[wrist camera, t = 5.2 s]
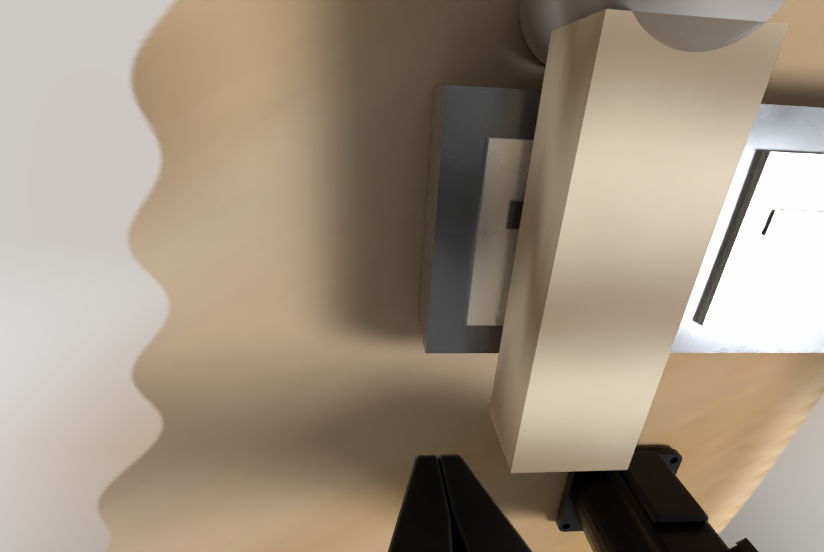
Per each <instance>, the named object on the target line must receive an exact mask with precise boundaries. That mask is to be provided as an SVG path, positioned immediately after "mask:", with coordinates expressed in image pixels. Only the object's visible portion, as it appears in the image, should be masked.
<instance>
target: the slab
mask: <svg viewBox="0 0 824 552" xmlns="http://www.w3.org/2000/svg"><path fill="white" fill-rule="evenodd" d="M541 93H542V90H527V89H511V88H495V87H478V86H462V85H443V86H439V87H435V88H434V94H433V109H432V124H431V140H430V155H429V170H428V185H427V200H426V215H425V230H424V245H423V260H422V275H421V290H420V306H419V321H420V327H421V332H422V337H423V343H424V348H425V353H499V350H500V344H501V338H502V332H503V325H504V319H505V313H506V307H507V301H508V295H509V289H510V283H511V276H512V270H513V264H514V258H515V252H516V246H517V240H518V234H519V227H520V221H521V215H522V209H523V203H524V197H525V191H526V184H527V178H528V172H529V166H530V160H531V154H532V148H533V142H534V135H535V129H536V123H537V117H538V111H539V105H540V99H541ZM670 353H824V108H821V107H805V106H788V105H772V104H760V107H759V109H758V112H757V115H756V118H755V121H754V123H753V126H752V129H751V132H750V134H749V137H748V140H747V143H746V145H745V148H744V151H743V154H742V156H741V159H740V162H739V165H738V167H737V170H736V173H735V176H734V178H733V181H732V184H731V187H730V189H729V192H728V195H727V198H726V200H725V203H724V206H723V209H722V211H721V214H720V217H719V220H718V222H717V225H716V228H715V231H714V233H713V236H712V239H711V242H710V244H709V247H708V250H707V253H706V255H705V258H704V261H703V264H702V266H701V269H700V272H699V275H698V277H697V280H696V283H695V286H694V288H693V291H692V294H691V297H690V299H689V302H688V305H687V308H686V310H685V313H684V316H683V319H682V321H681V324H680V327H679V330H678V332H677V335H676V338H675V341H674V343H673V346H672V349H671V352H670Z"/></svg>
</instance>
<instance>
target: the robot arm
mask: <svg viewBox="0 0 824 552" xmlns="http://www.w3.org/2000/svg"><path fill="white" fill-rule="evenodd" d="M681 461H682V456H681V455H680V454H679V453H678V451H677V450H675V449H649V450H635V451H634V453H633V456H632V459H631V462H630V464H629V467H628V470H604V471H571V472H570V474H569V478H568V481H567V485H566V488H565V492H564V495H563V499H562V502H561V505H560V509H559V512H558V516H557V519H556V524H557V526H558V528H559V530H560V531H564V532H567V531H584V533H585V535H586V538H587V540H588V542H589V544H590V546H591V548H592V550H593V552H758V551H757V550H756V549H755V548H754V546H753V545H752V544H751V543H750V542H749V540H747V538H744V539H742V540H740V541H739V542H736V544H737V546H734V547H732V548H731V549H729V548H728V547H727V545H726V544H725V543H724V542H723V540H722V539H721V538H720V537H719V535H718V534H717V533H716V532H715V530H714V529H713V528H712V526H711V525H710V524H709V523H708V516H707V514H706V513H705V512H704V510H703V509H702V508H701V507H700V505H699V504H698V503H697V502H696V500H695V499H694V498H693V497H692V495H691V494H690V493H689V492H688V490H687V489H686V488H685V487H684V485H683V484H682V483H681V482H680V480H679V479H678V478H677V477H676V473H677V470H678V468H679V466H680V463H681ZM388 552H532V551H531V549H530V548H529V547H528V545H527V544H526V543H525V541H524V540H523V539H522V537H521V536H520V535H519V533H518V532H517V531H516V529H515V528H514V527H513V525H512V524H511V523H510V521H509V520H508V519H507V517H506V516H505V515H504V513H503V512H502V511H501V509H500V508H499V507H498V505H497V504H496V503H495V501H494V500H493V499H492V497H491V496H490V495H489V493H488V492H487V491H486V489H485V488H484V487H483V485H482V484H481V483H480V481H479V480H478V479H477V477H476V476H475V475H474V473H473V472H472V471H471V469H470V468H469V467H468V465H467V464H466V463H465V461H464V460H463V459H462V457H461V456H459V455H457V454H450V455H440V456H439V457H437V456H436V455H418V456H417V457H416V458H415V461H414V465H413V468H412V472H411V475H410V478H409V482H408V485H407V489H406V492H405V495H404V499H403V502H402V506H401V509H400V512H399V516H398V519H397V522H396V526H395V529H394V533H393V536H392V539H391V543H390V546H389V550H388Z"/></svg>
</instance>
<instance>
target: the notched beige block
mask: <svg viewBox="0 0 824 552" xmlns="http://www.w3.org/2000/svg"><path fill="white" fill-rule="evenodd" d="M785 2H786V0H520V5H519V16H520V24H521V29H522V33H523V36H524V38H525V41H526V43H527V45H528V47H529V48H530V50H531V51H532V53H533V54H534V55H535V57H536V58H538V59H539V60H540V61H541V62H542V63H543V64H545V65H546V68H545V74H544V80H543V86H542V93H541V99H540V105H539V111H538V117H537V123H536V129H535V135H534V142H533V148H532V154H531V160H530V166H529V172H528V178H527V184H526V191H525V197H524V203H523V209H522V215H521V221H520V227H519V234H518V240H517V246H516V252H515V258H514V264H513V270H512V276H511V283H510V289H509V295H508V301H507V307H506V313H505V319H504V325H503V332H502V338H501V344H500V350H499V356H498V362H497V368H496V374H495V381H494V387H493V393H492V399H491V405H490V411H489V414H490V417H491V420H492V423H493V425H494V428H495V431H496V434H497V437H498V439H499V442H500V445H501V448H502V451H503V453H504V456H505V459H506V462H507V465H508V467H509V470H510V473H537V472H571V471H604V470H628V467H629V464H630V462H631V459H632V456H633V453H634V451H635V448H636V445H637V442H638V440H639V437H640V434H641V431H642V429H643V426H644V423H645V420H646V418H647V415H648V412H649V409H650V407H651V404H652V401H653V398H654V396H655V393H656V390H657V387H658V385H659V382H660V379H661V376H662V374H663V371H664V368H665V365H666V363H667V360H668V357H669V354H670V352H671V349H672V346H673V343H674V341H675V338H676V335H677V332H678V330H679V327H680V324H681V321H682V319H683V316H684V313H685V310H686V308H687V305H688V302H689V299H690V297H691V294H692V291H693V288H694V286H695V283H696V280H697V277H698V275H699V272H700V269H701V266H702V264H703V261H704V258H705V255H706V253H707V250H708V247H709V244H710V242H711V239H712V236H713V233H714V231H715V228H716V225H717V222H718V220H719V217H720V214H721V211H722V209H723V206H724V203H725V200H726V198H727V195H728V192H729V189H730V187H731V184H732V181H733V178H734V176H735V173H736V170H737V167H738V165H739V162H740V159H741V156H742V154H743V151H744V148H745V145H746V143H747V140H748V137H749V134H750V132H751V129H752V126H753V123H754V121H755V118H756V115H757V112H758V109H759V107H760V104H761V101H762V98H763V96H764V93H765V90H766V87H767V85H768V82H769V79H770V76H771V74H772V71H773V68H774V65H775V63H776V60H777V57H778V54H779V52H780V49H781V46H782V43H783V41H784V38H785V35H786V32H787V30H788V27H789V24H785V23H773V22H766V21H767V20H768V19H769V18H771V17H772V16H773V15H774V14H775V13H776V12H777V11H778V9H779V8H780V7H781V6H782V5H783V4H784V3H785Z"/></svg>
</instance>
